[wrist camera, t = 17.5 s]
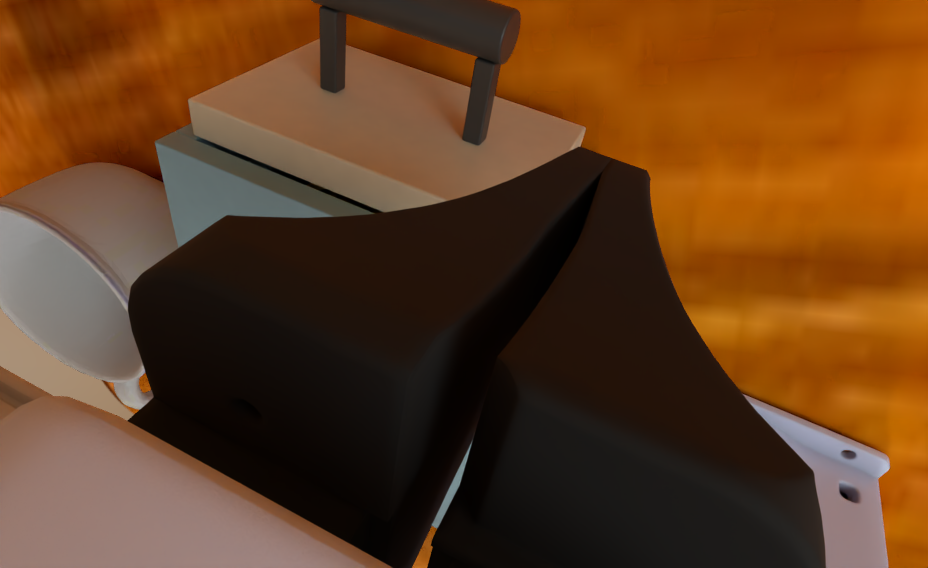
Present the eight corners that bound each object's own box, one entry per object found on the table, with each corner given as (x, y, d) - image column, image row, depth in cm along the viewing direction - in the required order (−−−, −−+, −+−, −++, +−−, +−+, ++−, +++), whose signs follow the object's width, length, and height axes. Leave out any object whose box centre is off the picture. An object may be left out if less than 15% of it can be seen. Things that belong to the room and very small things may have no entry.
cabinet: (323, 55, 23) (153, 140, 17) (599, 152, 21) (516, 292, 15) (325, 299, 32) (214, 411, 26) (518, 386, 30) (445, 533, 24)
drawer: (321, -85, 19) (160, -52, 14) (626, 4, 17) (557, 79, 12) (324, 282, 30) (233, 371, 25) (510, 365, 28) (449, 480, 23)
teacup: (69, 124, 33) (-84, 188, 27) (219, 157, 29) (79, 239, 24) (154, 312, 41) (51, 391, 36) (278, 355, 38) (186, 451, 32)
